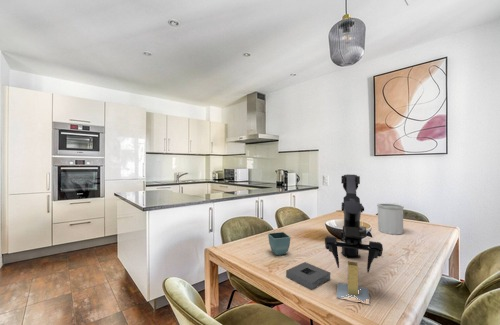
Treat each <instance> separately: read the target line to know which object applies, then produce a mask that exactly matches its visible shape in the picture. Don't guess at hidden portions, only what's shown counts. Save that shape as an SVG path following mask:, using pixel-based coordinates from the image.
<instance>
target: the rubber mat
mask: <svg viewBox="0 0 500 325" xmlns="http://www.w3.org/2000/svg"><path fill="white" fill-rule="evenodd" d="M336 287H337V289H336V299H337V298H344V297H348V296H351V294H349V295H348V283H347V284H346V283H343V282H337V286H336ZM360 289H361V290H360ZM358 290H359V294H358V296H356V295H355V296H356V297H357V298H358V300H359V299H360V300H362V301H363V302H364V300H365V301H366V299H370V293H369V288H367V287H363V286H359V285H358ZM346 295H347V296H346ZM341 296H344V297H341ZM351 297H354V295H352V296H351ZM351 297H349V298H351ZM356 297H355V298H356ZM357 298H356V299H357ZM370 300H371V299H370Z"/></svg>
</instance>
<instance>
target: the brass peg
mask: <svg viewBox="0 0 500 325" xmlns="http://www.w3.org/2000/svg"><path fill="white" fill-rule="evenodd" d="M358 275H359V265H358V262H356V261H351V260H350V261H349V260H348V261H347V284H348V294H351V295H356V296H358V286H359V284H358V283H359V276H358Z"/></svg>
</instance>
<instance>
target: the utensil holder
mask: <svg viewBox="0 0 500 325" xmlns="http://www.w3.org/2000/svg"><path fill="white" fill-rule="evenodd" d="M376 206H377V226H378V231H379V232H380V233H383V234H388V235H403V233H404V209H405V208H404V206H405V205H403V204H399V203H391V202H390V203H389V202H379V203H377V204H376Z"/></svg>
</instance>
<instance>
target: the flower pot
mask: <svg viewBox="0 0 500 325" xmlns="http://www.w3.org/2000/svg"><path fill="white" fill-rule="evenodd" d="M267 236H268V237H267V238H268V243H269V246H270V250H271V251H272V252H273V254H275V255H276V256H282V255H286V254H287V253H288V251H289V248H290V245H291V238H292V237H291V236H290V235H288V234H287V233H286V232H285V231H279V232H268V233H267Z"/></svg>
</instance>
